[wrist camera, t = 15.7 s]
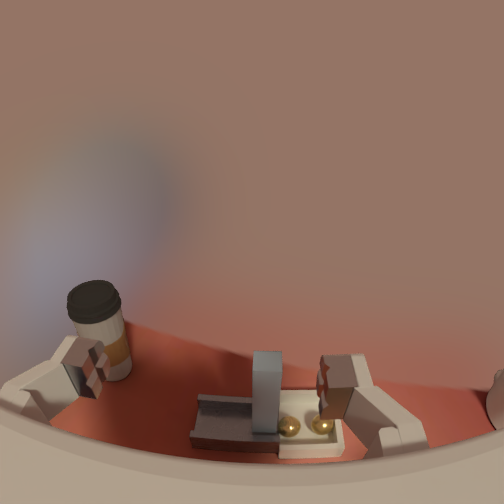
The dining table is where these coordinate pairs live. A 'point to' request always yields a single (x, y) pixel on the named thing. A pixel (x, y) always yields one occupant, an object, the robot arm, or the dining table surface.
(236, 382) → the dining table surface
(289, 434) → the brass sphere
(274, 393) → the tall gray pillar
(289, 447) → the ball tray
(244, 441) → the slot rail
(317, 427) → the gold metallic ball
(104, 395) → the dining table surface
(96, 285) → the coffee cup
